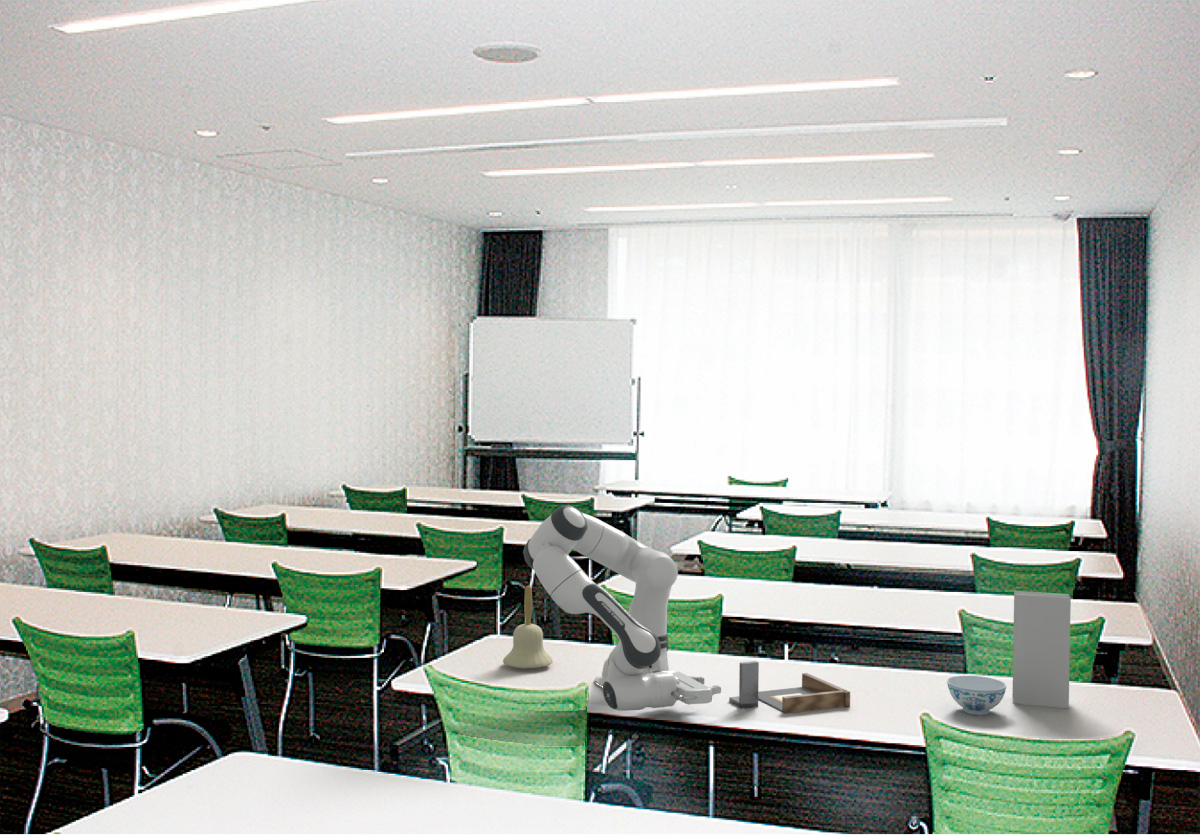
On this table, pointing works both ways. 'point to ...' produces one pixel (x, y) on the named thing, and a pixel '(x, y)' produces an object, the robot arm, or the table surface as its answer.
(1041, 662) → the tall grey block
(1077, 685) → the table surface
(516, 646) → the handbell
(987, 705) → the chinaware
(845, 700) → the brown wooden corner frame
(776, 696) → the mat
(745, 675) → the bracket
